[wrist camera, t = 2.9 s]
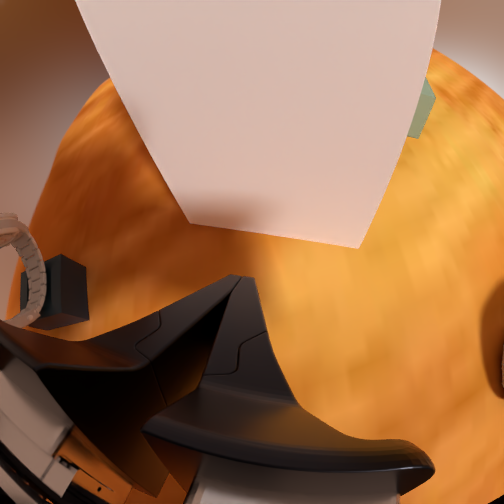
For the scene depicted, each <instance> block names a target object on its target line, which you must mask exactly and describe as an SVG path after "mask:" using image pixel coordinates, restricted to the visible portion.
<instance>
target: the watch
mask: <svg viewBox="0 0 504 504" xmlns="http://www.w3.org/2000/svg"><path fill="white" fill-rule="evenodd" d="M10 243H11V244H12V246H13V247H14V248H16V251H17V252H18V254H19V256H20V257H22V256H23V257H22V258H21V259H22V262H23V264H24V266H25V267H27V268H26V271H24V272H22V273H21V291H20V313H19V314H17V315H16V316H14V317H13V318H11V319H10V320H5V321H3V322H5V323H8V324H10V325H13V326H16V327H18V328H24V327H26V326H29V327H34V328H38V329H43V330H51V329H55V328H59V327H63V326H67V325H71V324H75V323H79V322H83V321H87V320H89V311H88V299H87V283H86V267H85V266H83V265H81V264H79V263H77V262H75V261H73V260H71V259H69V258H67V257H66V256H64V255H62V254H60V255H58V256H55V257H53V258H51V259H49V260H47V261H45V262H44V261H43V260H42V259H43V258H42V255H41V252H40V249H39V248H38V245H37V243H36V241H35V240H34V238H33V237H32V235H31V234H30V232H29V230H28V227H27V226H26V225H25V224H23V223H22V222H20V221H18V217H17V215H16V214H14V213H0V248H2V247H4V246H9V245H10ZM24 246H25V247H24ZM35 249H36V250H35ZM34 254H35V255H34ZM32 255H34V256H32ZM31 256H32V257H31ZM29 257H30V258H29ZM40 260H41V261H40Z"/></svg>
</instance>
